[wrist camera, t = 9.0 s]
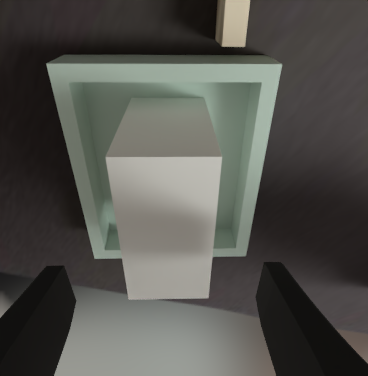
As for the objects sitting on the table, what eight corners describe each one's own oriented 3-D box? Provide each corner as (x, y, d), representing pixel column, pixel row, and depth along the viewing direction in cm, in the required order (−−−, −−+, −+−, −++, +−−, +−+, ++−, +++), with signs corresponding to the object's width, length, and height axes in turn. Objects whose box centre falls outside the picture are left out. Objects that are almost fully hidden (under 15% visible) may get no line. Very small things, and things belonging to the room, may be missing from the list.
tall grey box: (198, 219, 20) (207, 307, 15) (143, 220, 20) (130, 308, 14) (204, 97, 15) (222, 156, 10) (131, 97, 15) (105, 156, 10)
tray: (239, 231, 22) (245, 256, 20) (102, 233, 22) (94, 258, 19) (266, 55, 15) (282, 64, 13) (64, 54, 14) (46, 63, 12)
